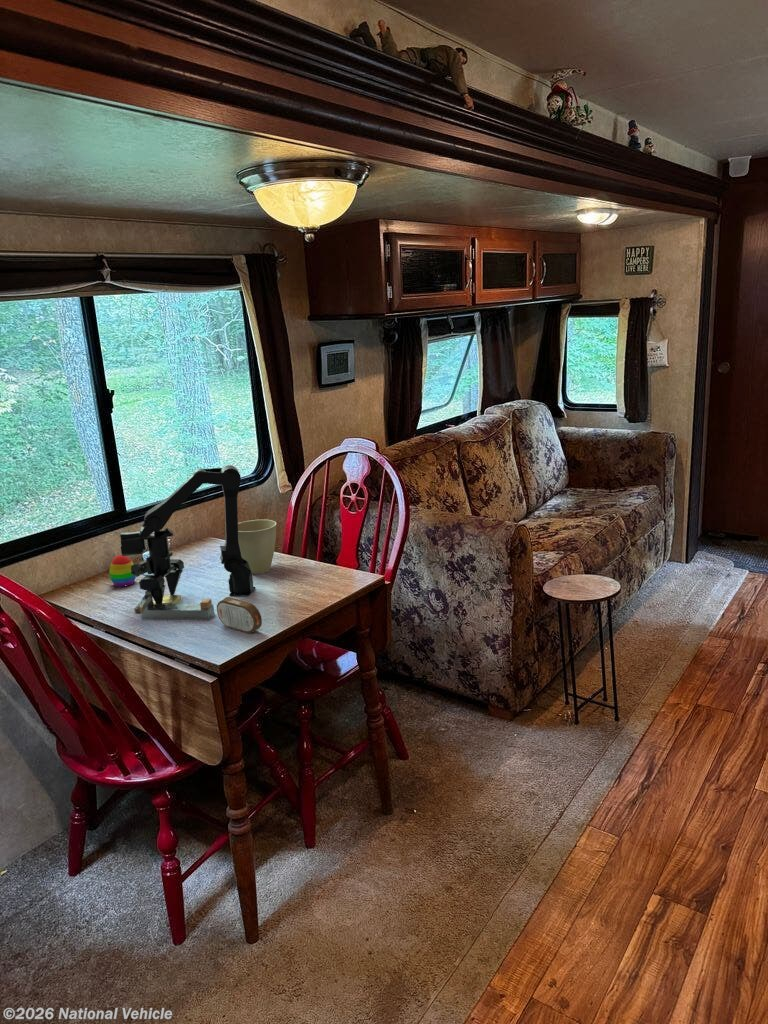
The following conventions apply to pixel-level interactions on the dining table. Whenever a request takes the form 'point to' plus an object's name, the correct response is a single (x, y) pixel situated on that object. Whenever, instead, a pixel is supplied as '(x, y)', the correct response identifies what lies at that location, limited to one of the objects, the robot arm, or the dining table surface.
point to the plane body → (180, 611)
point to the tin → (239, 615)
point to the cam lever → (144, 603)
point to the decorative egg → (121, 571)
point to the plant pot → (257, 543)
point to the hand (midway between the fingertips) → (166, 600)
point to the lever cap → (170, 599)
